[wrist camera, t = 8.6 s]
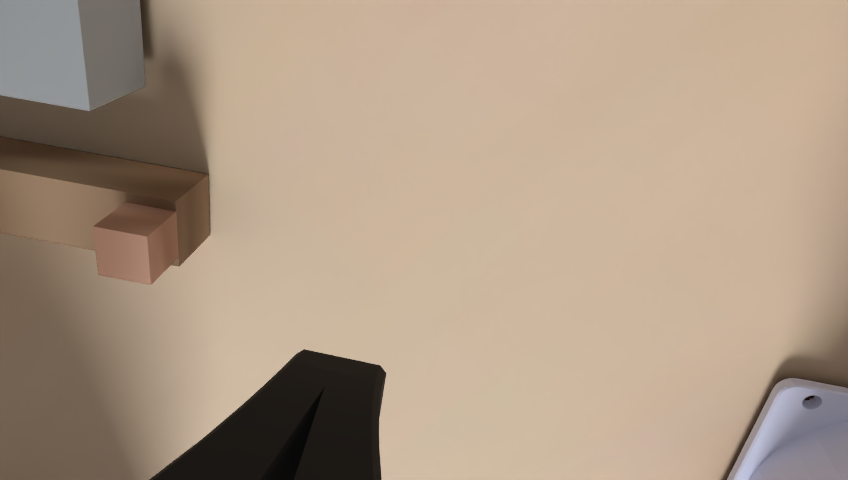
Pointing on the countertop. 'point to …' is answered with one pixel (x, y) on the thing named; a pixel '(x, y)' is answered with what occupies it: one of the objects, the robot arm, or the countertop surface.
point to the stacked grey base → (71, 51)
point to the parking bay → (104, 207)
